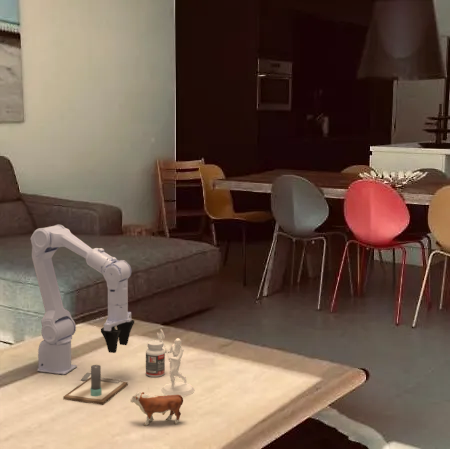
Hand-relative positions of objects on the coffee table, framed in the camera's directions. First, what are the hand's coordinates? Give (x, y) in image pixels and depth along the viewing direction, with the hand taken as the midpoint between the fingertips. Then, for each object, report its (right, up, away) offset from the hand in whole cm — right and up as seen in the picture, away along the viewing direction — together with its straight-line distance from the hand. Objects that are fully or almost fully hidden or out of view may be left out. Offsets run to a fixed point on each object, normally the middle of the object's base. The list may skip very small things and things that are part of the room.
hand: (118, 348), depth 220 cm
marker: (-4, -11, -12) cm, 17 cm away
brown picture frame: (-5, -11, -7) cm, 14 cm away
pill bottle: (+10, -9, +8) cm, 16 cm away
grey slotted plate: (-9, -9, +4) cm, 13 cm away
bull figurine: (+14, -15, -28) cm, 34 cm away
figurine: (+18, -11, -5) cm, 22 cm away
